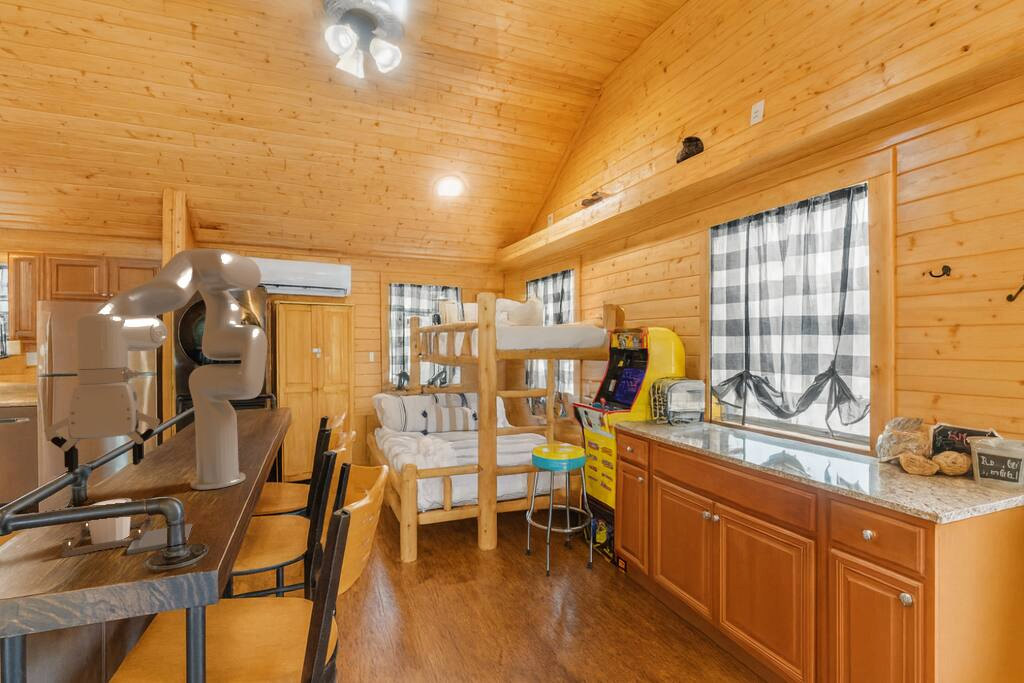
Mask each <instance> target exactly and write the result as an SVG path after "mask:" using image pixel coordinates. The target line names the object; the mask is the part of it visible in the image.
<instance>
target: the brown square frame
mask: <svg viewBox="0 0 1024 683" xmlns="http://www.w3.org/2000/svg"><path fill="white" fill-rule="evenodd" d="M143 517H144V519H143V520H138V521H130V530H132V529H131V528H133V529H134V530H132V533H133V534H132V535H133V537H128V538H126V539H122V540H116V541H111V542H105V543H99V544H94V545H92V544H89V545H84V546H81V545H82V544H83V543H84V541H85V540H86V539H87V538H88V537H89V536H90V528H89V522H88V521H84V522H81V523H80V531H79V533H78V534H77V535H76V536H75V537H74V538H73V539H72V540H65V541H63V542H61V543H62V544H61V546H62V550H61V558H63V557H64V558H68V557H73V556H74V557H75V556H80V555H85V554H84V553H86V554H90V553H89V552H91V553H93V552H92V551H97V550H101V549H108V550H110V549H109V548H113V549H116V548H115V547H119V548H122V547H121V546H125V547H127V546H126V545H131V543H132V541H134V540H140V539H141V538H142V537H143V535H144V533H145V532H146V531H148V530H149V531H150V529H151V527H152V525H153V524H152V522H153V518H152V517H153V515H152V516H146V515H144V516H143ZM150 526H151V527H150ZM136 527H139V528H136ZM149 528H150V529H149ZM90 537H91V536H90ZM82 542H83V543H82ZM81 543H82V544H81ZM97 552H98V551H97ZM79 554H80V555H79Z"/></svg>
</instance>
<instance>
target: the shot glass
mask: <svg viewBox="0 0 1024 683" xmlns="http://www.w3.org/2000/svg"><path fill="white" fill-rule="evenodd" d="M131 501H132V499H131V498H129V497H128V498H125V497H124V498H122V497H121V498H114V499H109V500H108V499H107V500H103V501H99V502H96V503H95V502H94V503H93V504H91V505H89V506H92V505H106V504H115V503H125V502H131ZM132 502H133V501H132ZM131 518H132V517H119V518H107V519H99V520H91V521H88V520H87V522H89V529H90V535H91V536H90V539H91V545H92V544H99V543H105V542H111V541H116V540H122V539H124V538H126V537H128V536H129V537H130V532H131V531H130V530H131V529H130V522H131ZM129 537H128V538H129ZM126 539H127V538H126Z"/></svg>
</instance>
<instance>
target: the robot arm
mask: <svg viewBox="0 0 1024 683" xmlns="http://www.w3.org/2000/svg"><path fill="white" fill-rule="evenodd" d="M261 278H262V274H261V269H260V267H259V266H258V264H257V263H256V262H255V261H254V260H253V259H251V258H249V257H246V256H243V255H241V254H239V253H235V252H233V251H230V250H226V249H221V248H207V249H206V248H205V249H203V248H201V249H185V250H181V251H179V252H177V253H176V254H175V255H174V256H172V257H171V258H170V260H168V261H167V262H166V264H165V265H164V266H163V267H161V269H159V271H158V272H157V273H156V274H155V275H154V276H153V277H152V278H151V279H150V280H149V281H147V282H146V281H145V282H144V283H142V284H139V285H137V286H135V287H133V288H130V289H128V290H126V291H124V292H122V293H119V294H117V295H115V296H113V297H112V298H110V299H108V300H107V301H105V302H104V303H103V304H102V305H100V306H99V308H98V309H96V311H94V312H93V313H86V314H81V315H79V316H78V317H77V319H76V322H75V323H76V324H75V329H76V330H75V331H76V332H75V333H76V361H77V365H76V366H77V371H76V374H77V386H74V387H73V388H72V390H71V391H72V392H71V396H70V402H69V410H68V417H67V418H65V419H62V420H60V421H58V422H56V423H54V424H51V425H50V426H48V427H45V428H44V430H43V432H44V434H45V435H46V437H47V438H48V439H49V440H50V442H51V443H52V444H53V445H55V446H56V447H58V448H59V449H60V450H61V451H62V452H63V454H64V455H63V458H64V459H63V461H64V462H63V463H64V464H63V465H64V468H67V472H68V473H73V472H75V471H76V470H78V469H79V448H78V447H76V445H77V444H78V443H80V441H81V440H92V439H93V440H94V439H102V438H103V439H104V438H113V437H115V438H116V437H124V436H127V437H129V438H130V439H131V440H132V441H133V442H134V444H132V465H133V466H138V465H139V464H140V463H141V461H142V460H144V458H145V442H146V441H147V439H148V438H149V437H151V436H152V435H153V434H154V433H155V431H156V429H157V428H158V426H159V425H160V423H161V419H160V418H158V417H155V416H152V415H150V414H147V413H143V412H141V411H139V402H138V401H139V400H138V395H137V391H136V387H135V384H134V383H129V381H130V380H131V379H133V378H138V375H139V374H138V371H137V370H132V369H130V367H129V352H146V351H154V350H156V349H158V348H160V347H161V346H163V344H165V342H166V341H167V339H168V335H169V334H168V328H167V325H166V324H165V323H164V321H163V320H161V319H160V318H158V317H157V316H160V315H163V314H164V315H165V314H167V313H171V312H174V311H177V310H179V309H182V308H183V307H185V306H186V305H187V304H188V302H189V301H190V300H191V299H192V297H193V296H194V295H195V294H196V292H197V291H198V292H199V294H200V295H201V297H202V299H203V301H204V304H205V308H206V310H205V319H204V326H203V333H202V340H201V352H202V354H203V356H204V357H205V358H207V359H209V360H212V361H213V360H214V361H240V362H241V363H213V364H205V365H201V366H198V367H196V368H195V369H193V370H192V372H191V373H190V374H189V378H188V388H189V392H190V395H191V396H190V397H191V399H192V400H191V401H192V404H193V411H194V427H195V428H194V429H195V430H194V431H195V452H196V455H195V456H196V478H195V479H193V480H191V481H190V488H192V489H194V490H200V491H201V490H216V489H222V488H226V487H227V488H228V487H231V486H233V485H236V484H237V485H238V484H240V483H242V482H243V481H245V479H246V474H245V473H243V472H241V471H239V470H240V469H239V446H238V445H239V444H238V443H239V442H238V421H237V420H238V416H237V412H236V410H235V408H234V407H233V405H232V404H231V402H230V400H231V401H233V400H234V401H237V400H241V401H242V400H251V399H255V398H257V397H258V396H259V395H260V394H261V392H262V391H263V387H264V382H265V380H264V379H265V372H266V365H267V364H266V363H267V355H268V338H267V335H266V332H265V331H264V330H263V328H262V327H260V326H258V325H255V324H242V313H243V311H242V310H243V309H242V307H241V305H240V304H239V302H238V301H237V300H236V298H235V297H234V296H233V295H232V293H230V291H231V292H233V291H234V292H235V291H238V292H239V291H252V290H254V289H256V288H257V287H258V286H259V284H260V283H261ZM140 421H142V422H144V423H147V424H148V427H147V429H146V430H145V431H144V432H143V433H142V432H141V431H139V429H140V425H141V424H140ZM65 427H67V432H68V436H69V438H68V439H66V438H65V437H63V436H61V435H60V433H59V430H61V429H63V428H65Z"/></svg>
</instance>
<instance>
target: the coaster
mask: <svg viewBox="0 0 1024 683" xmlns="http://www.w3.org/2000/svg"><path fill="white" fill-rule="evenodd" d="M193 524H194V523H188V524H184V525H185V537H186V541H187V540H188V537H189V534H190V531H191V528H192V526H194V525H193ZM167 528H168V527H166V528H165V527H164V528H158V529H153V530H149V531H146V532H145V533H144V535H143V537H142V538H141V539H140V540H134V541H132V543H131V545H130V546H129V547H128V548H127V549H126V555H128V556H129V555H132V554H140V553H144V552H150V551H155V550H160V549H166V548H165V547H166V546H167ZM192 529H193V528H192ZM191 532H192V531H191ZM190 535H191V534H190ZM189 538H190V537H189ZM188 541H189V540H188Z"/></svg>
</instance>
